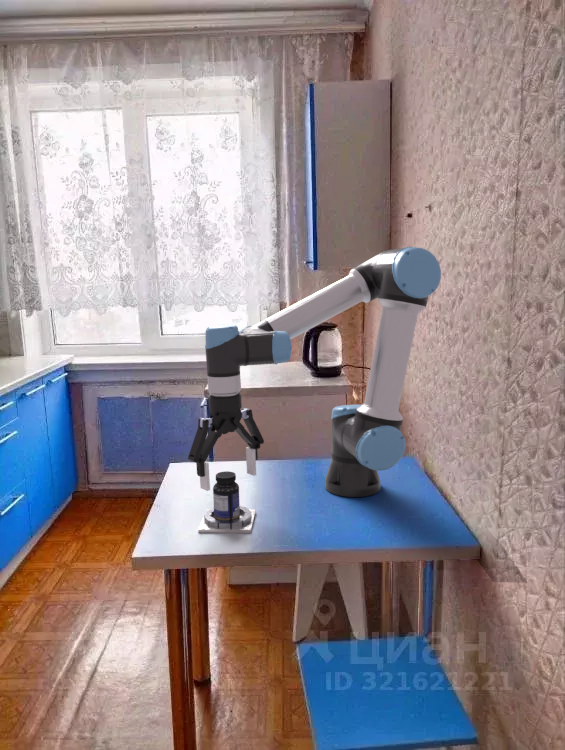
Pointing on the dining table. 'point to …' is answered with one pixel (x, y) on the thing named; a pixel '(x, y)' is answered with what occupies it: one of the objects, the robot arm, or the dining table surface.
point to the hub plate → (228, 522)
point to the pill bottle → (226, 497)
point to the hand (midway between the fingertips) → (229, 481)
